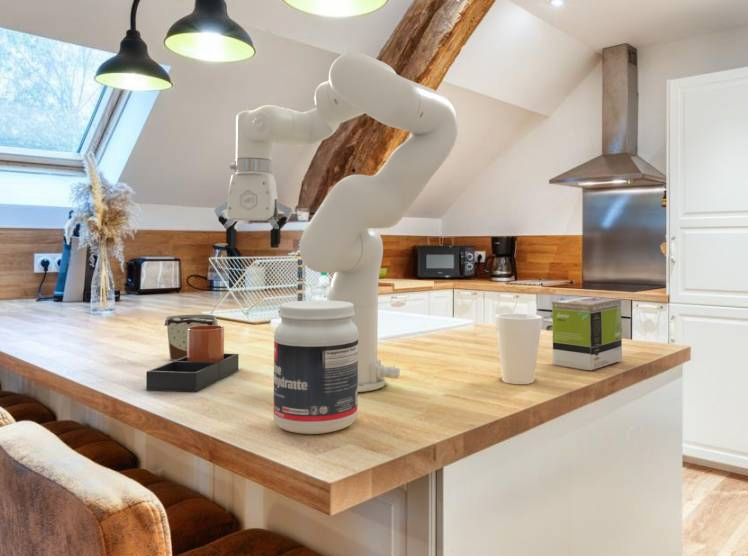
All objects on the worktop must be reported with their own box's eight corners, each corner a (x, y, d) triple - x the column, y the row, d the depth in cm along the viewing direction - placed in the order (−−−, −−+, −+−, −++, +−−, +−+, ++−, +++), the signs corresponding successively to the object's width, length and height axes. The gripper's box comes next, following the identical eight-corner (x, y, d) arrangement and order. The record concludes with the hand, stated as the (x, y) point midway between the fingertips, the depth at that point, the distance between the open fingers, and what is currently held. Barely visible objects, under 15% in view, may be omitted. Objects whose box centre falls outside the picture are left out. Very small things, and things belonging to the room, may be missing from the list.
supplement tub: (255, 425, 93) (256, 304, 93) (319, 407, 103) (320, 298, 103) (311, 443, 85) (312, 311, 85) (375, 422, 95) (376, 303, 95)
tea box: (584, 356, 151) (584, 295, 151) (623, 362, 144) (623, 298, 144) (550, 364, 140) (551, 299, 140) (591, 371, 133) (591, 303, 133)
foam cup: (488, 383, 122) (489, 317, 122) (500, 373, 130) (501, 312, 130) (536, 387, 118) (537, 320, 118) (545, 377, 127) (546, 314, 127)
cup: (229, 367, 131) (229, 325, 131) (214, 375, 124) (214, 330, 123) (197, 366, 132) (197, 324, 132) (180, 374, 124) (180, 329, 124)
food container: (226, 356, 146) (226, 314, 146) (215, 361, 140) (215, 318, 140) (177, 355, 148) (177, 313, 148) (164, 360, 142) (164, 316, 142)
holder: (195, 368, 133) (195, 352, 133) (238, 370, 132) (238, 353, 132) (146, 390, 114) (146, 371, 114) (196, 392, 113) (196, 373, 113)
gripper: (208, 167, 131) (207, 247, 131) (286, 166, 129) (285, 248, 129) (223, 171, 139) (222, 246, 139) (297, 170, 137) (297, 247, 137)
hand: (253, 247), depth 134 cm, fingers open, 9 cm apart
